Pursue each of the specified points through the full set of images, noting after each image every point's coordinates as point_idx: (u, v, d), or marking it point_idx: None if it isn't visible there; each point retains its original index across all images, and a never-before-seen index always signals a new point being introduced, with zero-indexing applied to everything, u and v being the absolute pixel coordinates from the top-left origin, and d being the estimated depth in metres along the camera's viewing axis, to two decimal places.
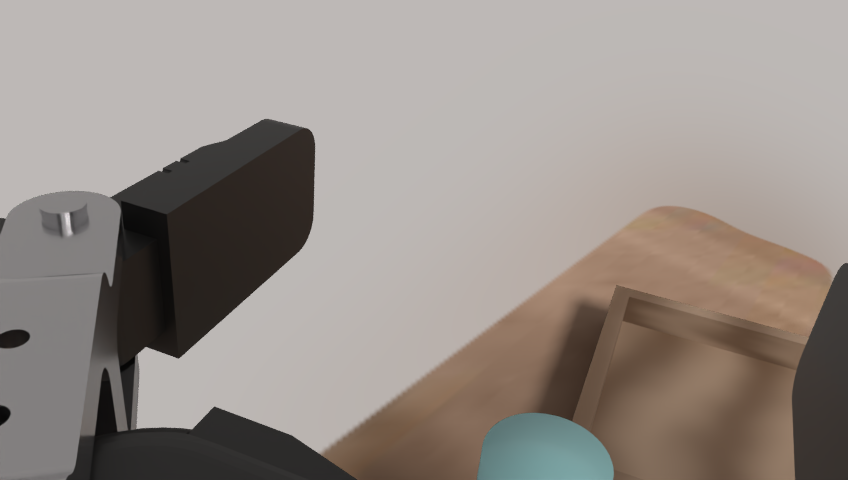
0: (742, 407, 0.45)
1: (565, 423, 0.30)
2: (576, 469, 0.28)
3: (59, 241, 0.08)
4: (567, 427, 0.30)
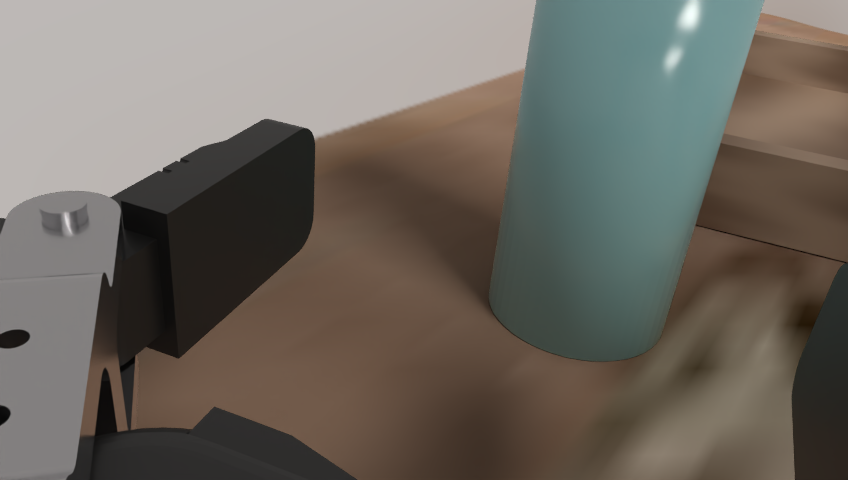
0: None
1: None
2: None
3: (60, 241, 0.08)
4: None
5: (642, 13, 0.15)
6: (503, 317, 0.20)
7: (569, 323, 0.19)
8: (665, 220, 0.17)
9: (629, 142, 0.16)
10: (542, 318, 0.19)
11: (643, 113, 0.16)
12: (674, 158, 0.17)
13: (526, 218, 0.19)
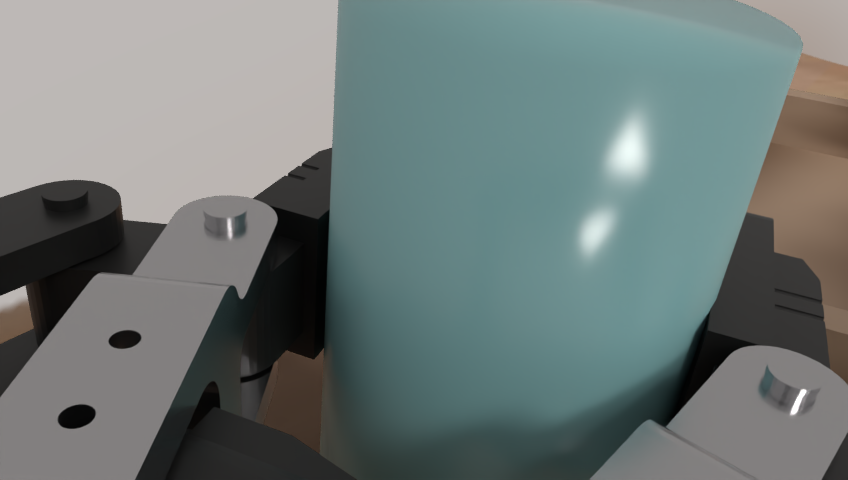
0: None
1: None
2: (665, 19, 0.08)
3: (212, 246, 0.09)
4: None
5: (498, 220, 0.07)
6: None
7: None
8: None
9: (494, 446, 0.08)
10: None
11: (516, 400, 0.08)
12: (585, 466, 0.09)
13: None
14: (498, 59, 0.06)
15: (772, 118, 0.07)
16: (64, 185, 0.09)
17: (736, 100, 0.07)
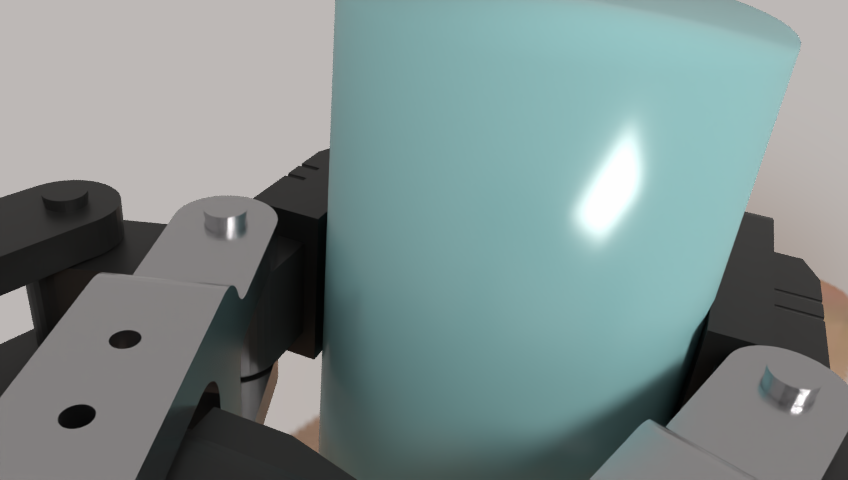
0: None
1: None
2: (663, 19, 0.08)
3: (212, 245, 0.09)
4: None
5: (496, 221, 0.07)
6: None
7: None
8: None
9: (491, 445, 0.08)
10: None
11: (515, 400, 0.08)
12: (583, 467, 0.09)
13: None
14: (496, 60, 0.06)
15: (770, 117, 0.07)
16: (64, 185, 0.09)
17: (734, 99, 0.07)
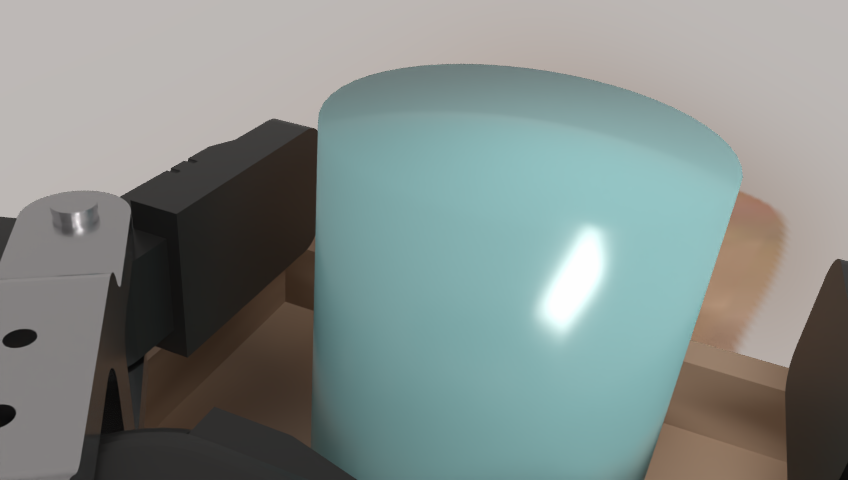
0: None
1: (581, 82, 0.11)
2: (618, 151, 0.09)
3: (69, 241, 0.08)
4: (587, 88, 0.10)
5: (461, 350, 0.08)
6: None
7: None
8: None
9: None
10: None
11: None
12: None
13: None
14: (458, 219, 0.07)
15: (712, 250, 0.08)
16: None
17: (674, 247, 0.07)
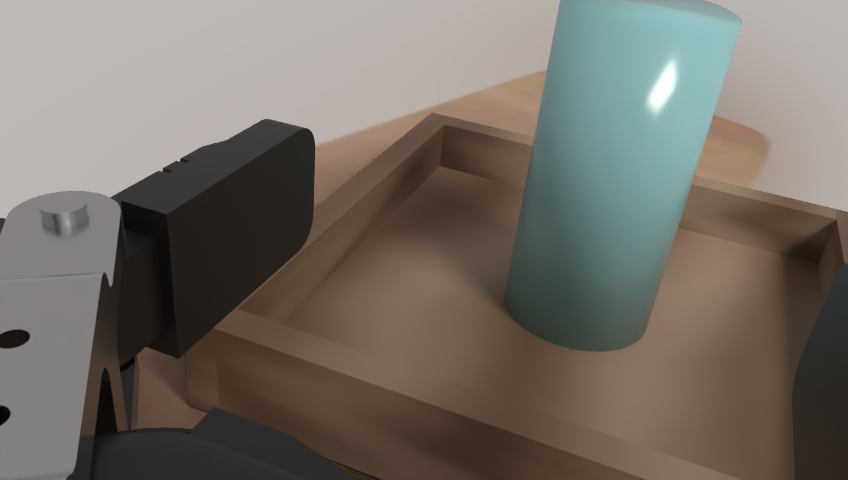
0: None
1: None
2: (690, 13, 0.21)
3: (59, 242, 0.08)
4: None
5: (630, 84, 0.20)
6: (516, 315, 0.25)
7: (570, 320, 0.23)
8: (648, 241, 0.22)
9: (619, 181, 0.21)
10: (548, 316, 0.24)
11: (630, 159, 0.21)
12: (654, 193, 0.21)
13: (537, 236, 0.23)
14: (635, 26, 0.19)
15: (729, 50, 0.20)
16: None
17: (715, 41, 0.19)
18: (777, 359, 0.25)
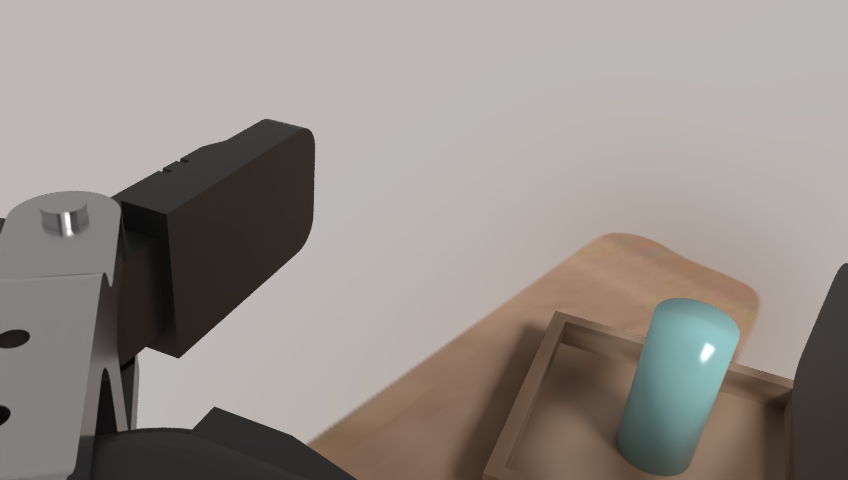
0: None
1: (704, 305, 0.46)
2: (715, 329, 0.44)
3: (60, 242, 0.08)
4: (706, 307, 0.46)
5: (687, 367, 0.43)
6: (624, 454, 0.48)
7: (653, 461, 0.47)
8: (693, 428, 0.46)
9: (681, 404, 0.44)
10: (642, 458, 0.47)
11: (686, 396, 0.44)
12: (697, 409, 0.45)
13: (638, 421, 0.47)
14: (690, 346, 0.42)
15: (733, 350, 0.43)
16: None
17: (726, 351, 0.43)
18: (758, 477, 0.48)
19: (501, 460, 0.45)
